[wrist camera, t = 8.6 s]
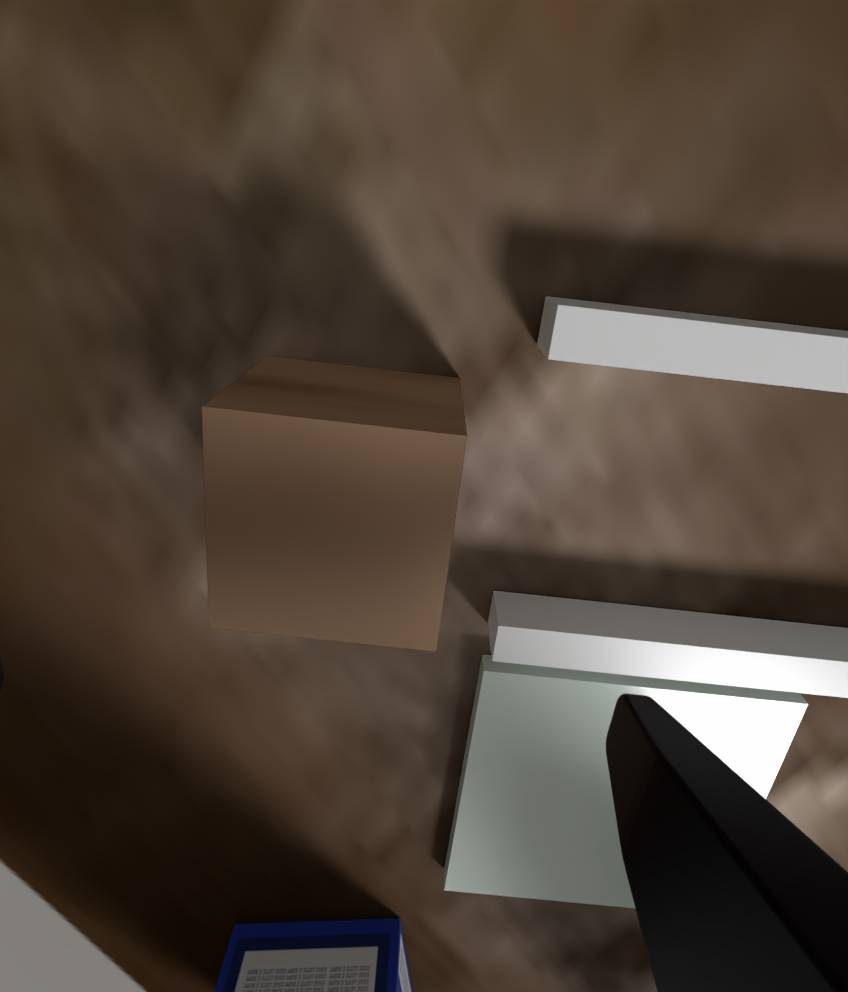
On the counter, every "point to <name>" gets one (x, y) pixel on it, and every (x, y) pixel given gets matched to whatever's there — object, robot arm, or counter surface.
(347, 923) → the milk carton
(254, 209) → the counter surface
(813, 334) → the channel
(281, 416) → the block
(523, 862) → the pad
